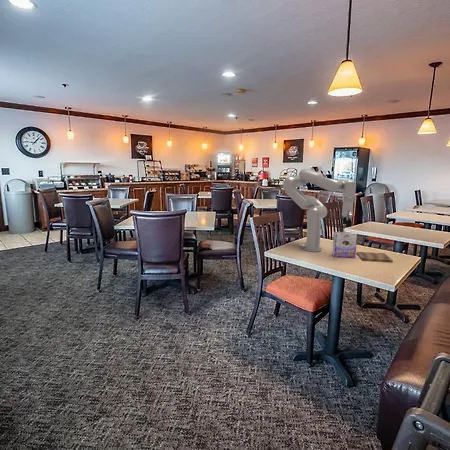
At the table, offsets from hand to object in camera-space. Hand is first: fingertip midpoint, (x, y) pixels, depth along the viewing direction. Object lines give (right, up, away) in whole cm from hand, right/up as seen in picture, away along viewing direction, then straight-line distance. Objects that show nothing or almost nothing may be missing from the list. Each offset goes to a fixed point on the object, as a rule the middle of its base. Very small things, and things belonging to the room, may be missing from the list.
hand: (346, 225), depth 198 cm
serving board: (+18, -22, +1) cm, 28 cm away
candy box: (-1, -21, +4) cm, 22 cm away
